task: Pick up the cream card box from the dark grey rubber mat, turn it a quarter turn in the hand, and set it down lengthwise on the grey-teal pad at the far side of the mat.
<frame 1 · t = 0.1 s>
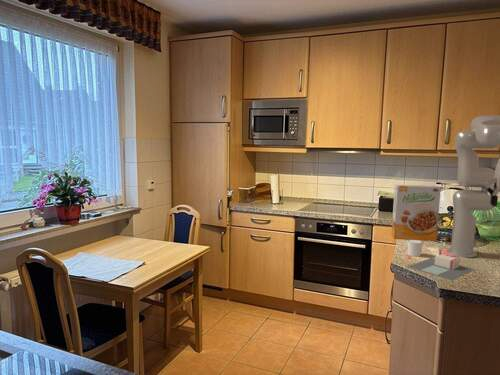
cereal box: (413, 238, 211), on the worktop
mat: (440, 268, 160), on the worktop
card box: (446, 265, 164), resting on mat
white cup: (414, 255, 179), on the worktop
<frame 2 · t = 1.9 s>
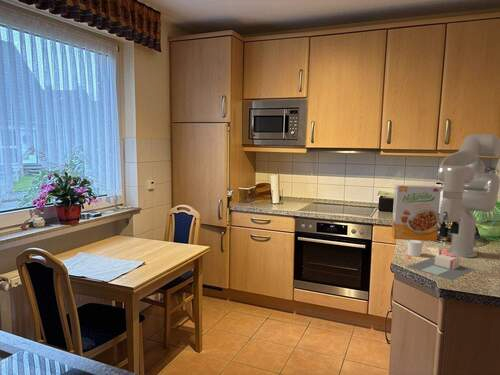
hand: (449, 234, 161), 14 cm above the worktop, tool pointing down, fingers open, 9 cm apart
nothing on the worktop moved.
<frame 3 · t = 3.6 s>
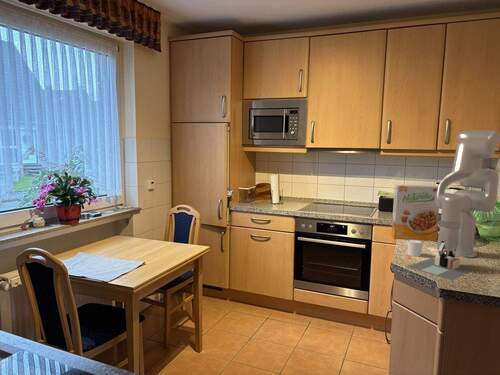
hand: (446, 264, 163), 1 cm above the worktop, tool pointing down, fingers closed on card box, 5 cm apart
card box: (446, 265, 164), resting on mat, touching gripper
everything else where it was.
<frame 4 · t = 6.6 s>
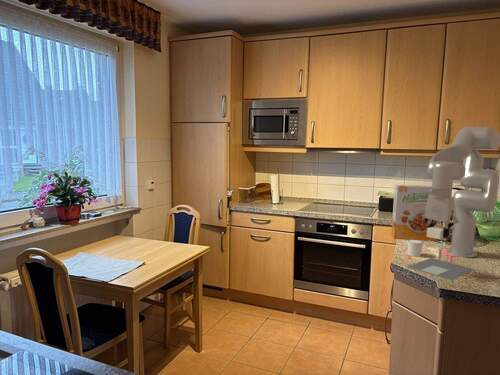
hand: (438, 235, 156), 15 cm above the worktop, tool pointing down, fingers closed on card box, 5 cm apart
card box: (437, 236, 156), point 15 cm above the worktop, touching gripper
everything else where it was.
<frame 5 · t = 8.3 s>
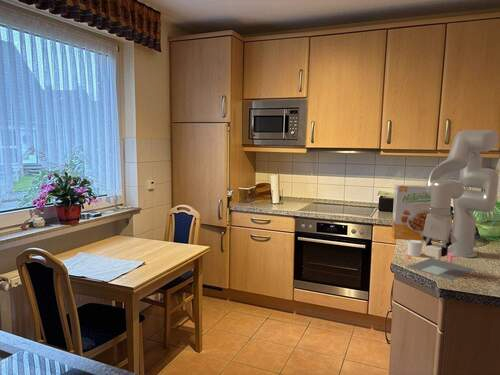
hand: (436, 253, 156), 8 cm above the worktop, tool pointing down, fingers closed on card box, 5 cm apart
card box: (436, 254, 157), point 7 cm above the worktop, touching gripper
everything else where it was.
when the fingers open (2 cm above the worktop, at t = 9.8 s): card box stays where it is, resting on mat.
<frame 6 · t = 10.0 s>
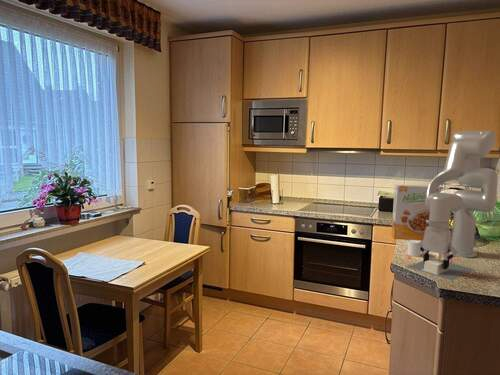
hand: (435, 265, 157), 2 cm above the worktop, tool pointing down, fingers open, 7 cm apart
card box: (435, 269, 158), point 1 cm above the worktop, touching mat
everything else where it was.
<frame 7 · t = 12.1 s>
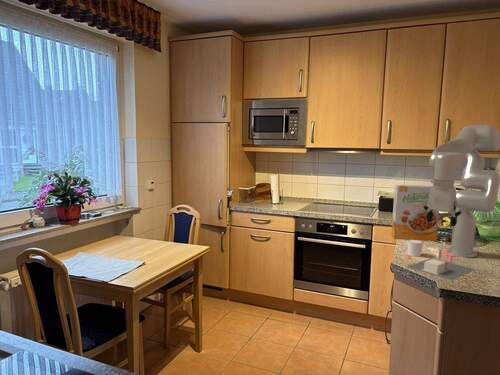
hand: (441, 223, 157), 20 cm above the worktop, tool pointing down, fingers open, 9 cm apart
nothing on the worktop moved.
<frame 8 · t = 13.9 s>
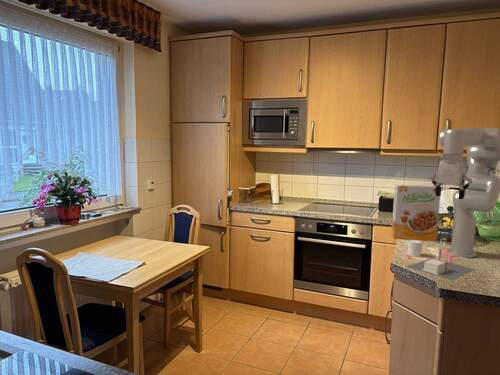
hand: (449, 197, 162), 30 cm above the worktop, tool pointing down, fingers open, 9 cm apart
nothing on the worktop moved.
at the end: card box 0.0 cm from the target spot, point 0.5 cm above the worktop; card box tilted 0°; the gripper is holding nothing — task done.
